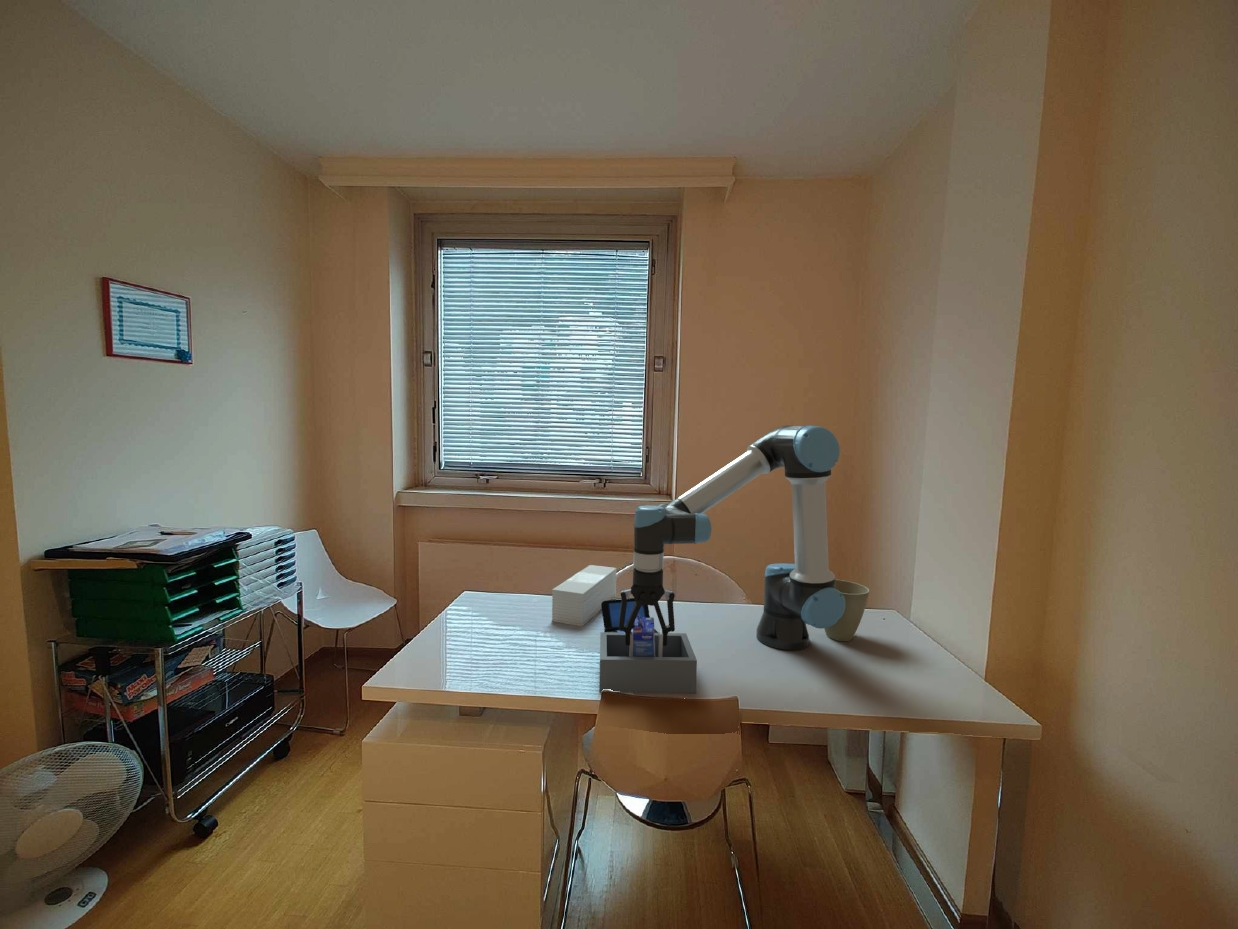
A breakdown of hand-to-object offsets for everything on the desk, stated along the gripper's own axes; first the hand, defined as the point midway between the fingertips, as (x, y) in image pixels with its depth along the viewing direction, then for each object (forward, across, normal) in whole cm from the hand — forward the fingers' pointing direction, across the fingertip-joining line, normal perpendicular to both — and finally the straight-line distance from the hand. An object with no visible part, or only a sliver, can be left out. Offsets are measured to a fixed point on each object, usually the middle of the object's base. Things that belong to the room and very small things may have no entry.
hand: (645, 657), depth 129 cm
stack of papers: (+6, +17, -49) cm, 52 cm away
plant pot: (+5, -62, -26) cm, 68 cm away
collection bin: (+5, 0, 0) cm, 5 cm away
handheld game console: (+6, +2, -26) cm, 27 cm away
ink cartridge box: (+4, 0, 0) cm, 4 cm away
